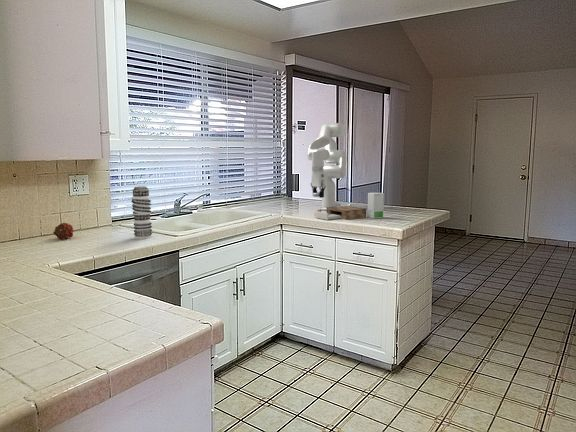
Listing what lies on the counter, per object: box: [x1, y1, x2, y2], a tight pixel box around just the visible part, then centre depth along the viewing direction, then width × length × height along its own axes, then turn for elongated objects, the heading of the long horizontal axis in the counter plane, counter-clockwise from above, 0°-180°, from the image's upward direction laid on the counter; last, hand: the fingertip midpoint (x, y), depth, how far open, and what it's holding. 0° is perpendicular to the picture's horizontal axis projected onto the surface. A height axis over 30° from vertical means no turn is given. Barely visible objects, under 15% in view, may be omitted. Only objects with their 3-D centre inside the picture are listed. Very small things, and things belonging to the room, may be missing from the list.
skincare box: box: [366, 192, 385, 219], centre depth 282 cm, size 8×7×16 cm
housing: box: [326, 205, 367, 221], centre depth 289 cm, size 16×20×5 cm
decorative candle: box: [130, 185, 153, 240], centre depth 225 cm, size 9×9×25 cm
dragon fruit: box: [53, 222, 74, 240], centre depth 224 cm, size 8×8×12 cm
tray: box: [314, 210, 342, 221], centre depth 283 cm, size 15×13×4 cm
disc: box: [312, 191, 320, 198], centre depth 294 cm, size 7×7×2 cm
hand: (318, 196), depth 295 cm, fingers closed on disc, 7 cm apart
